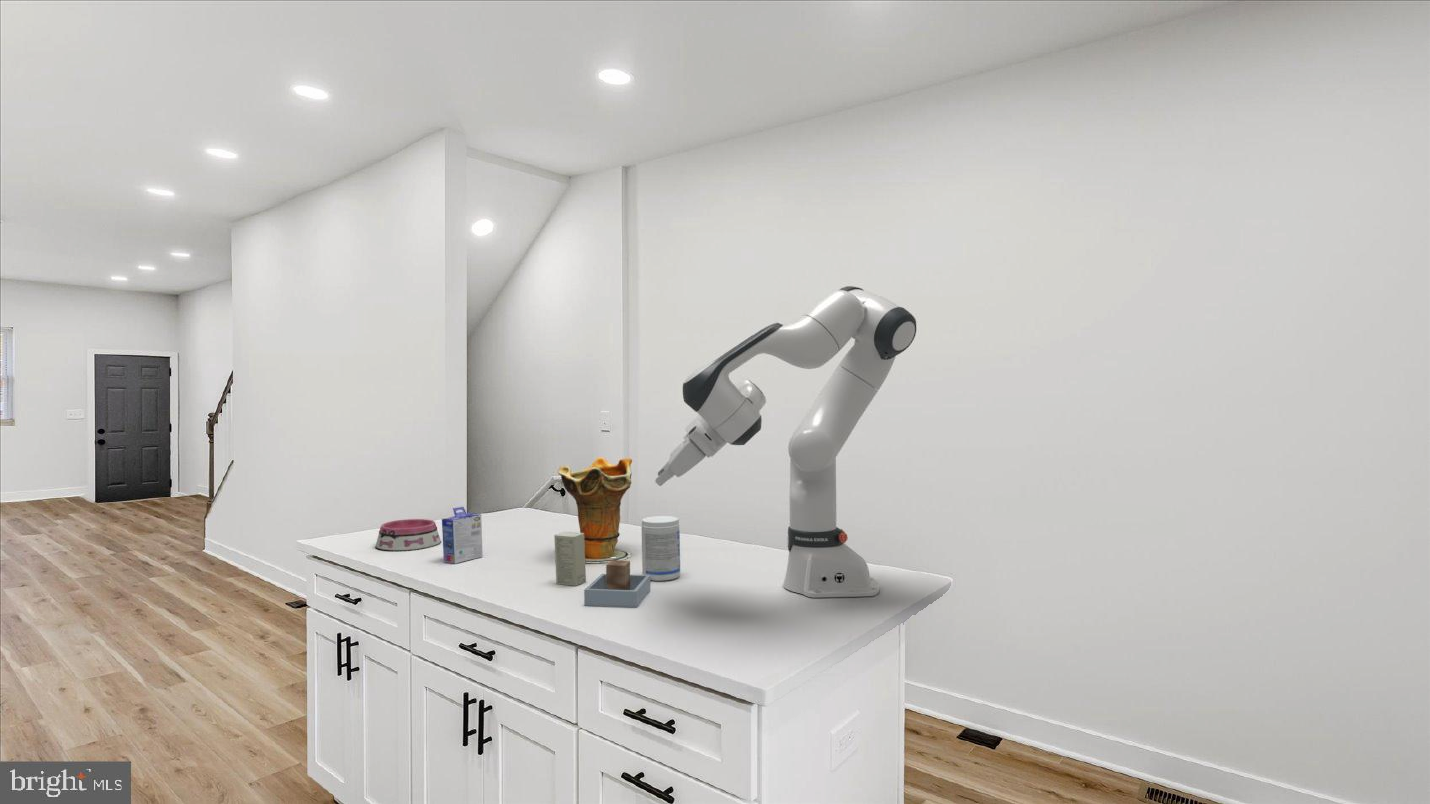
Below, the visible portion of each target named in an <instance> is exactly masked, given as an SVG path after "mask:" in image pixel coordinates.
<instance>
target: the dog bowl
mask: <svg viewBox="0 0 1430 804" xmlns="http://www.w3.org/2000/svg"><path fill="white" fill-rule="evenodd" d="M441 544H442V540H441V538H440V535H439V531H438V526H437V523H436V522H435V520H432V519H427V518H426V519H425V518H411V519H410V518H407V519H399V520H393V521H392V520H391V521H388V522H384V523H382V524H381V526H380V528H379V531H378V535H377V539H376V543H375V549H376V550H378V551H381V552H389V553H394V552H396V553H397V552H398V553H399V552H401V553H402V552H411V551H412V552H413V551H420V550H425V549H430V548H434V547H437V546H439V545H441Z"/></svg>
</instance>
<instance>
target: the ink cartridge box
mask: <svg viewBox="0 0 1430 804" xmlns="http://www.w3.org/2000/svg"><path fill="white" fill-rule="evenodd" d="M452 509H453V514H454V516H449V517H445V518H441V531H442V549H443V550H442V551H443V552H442V554H443V555H442V556H443V562H444V563H448V564H453V565H454V564H455V565H456V564H459V563H463V562H467V561H471V560H474V559H478V558H483V556H484V554H483V553H484V552H483V529H482V528H483V527H482V522H483V521H482V514H481V513H474V512H469V513H467V511H466V509H465V508H464V506H460V507H459V506H458V507H453V508H452ZM457 511H461V512H457Z"/></svg>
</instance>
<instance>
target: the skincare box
mask: <svg viewBox="0 0 1430 804" xmlns="http://www.w3.org/2000/svg"><path fill="white" fill-rule="evenodd" d="M553 537H554V555H555V556H554V557H555V558H554V559H555V581H556V584H557V585H564V586H565V585H566V586H575V587H577V586H579V585H581V584H584V583H585V582H586V581H587V574H586V572H587V571H586V562H585V544H584V533H580V532H573V531H572V532H571V531H562V532H559V533H556V534H554V535H553Z"/></svg>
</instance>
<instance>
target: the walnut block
mask: <svg viewBox="0 0 1430 804" xmlns="http://www.w3.org/2000/svg"><path fill="white" fill-rule="evenodd" d="M605 574H606V589H607V590H630V575H631V560H611V561H610V562H607V564H605Z"/></svg>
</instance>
